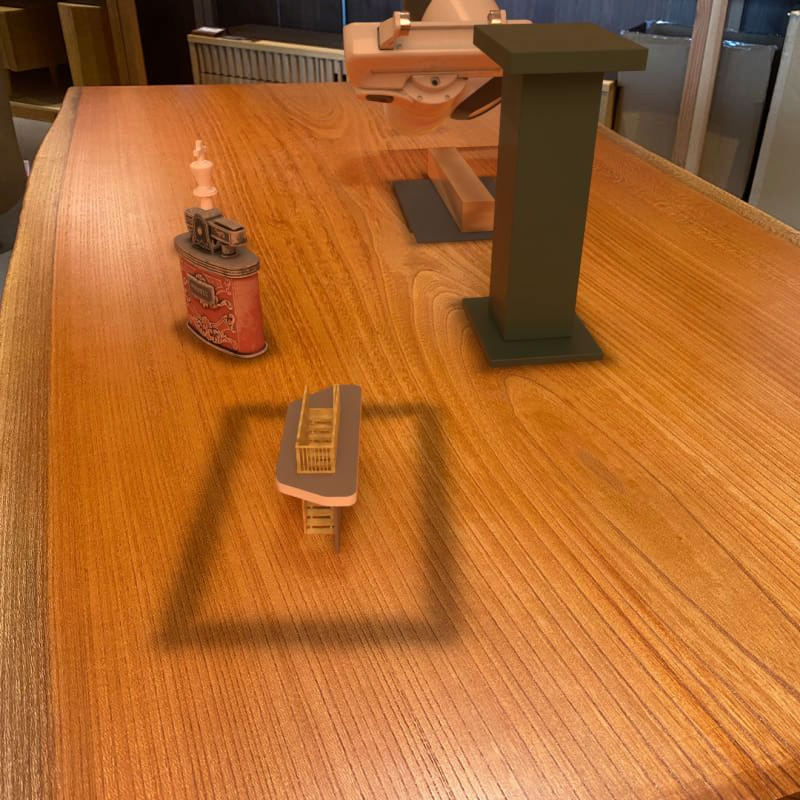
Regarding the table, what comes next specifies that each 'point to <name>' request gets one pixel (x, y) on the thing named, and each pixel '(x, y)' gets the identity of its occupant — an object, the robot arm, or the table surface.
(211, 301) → the lighter
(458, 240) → the mat
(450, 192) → the ash bar
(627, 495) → the table surface
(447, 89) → the robot arm
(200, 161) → the chess piece
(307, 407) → the platform
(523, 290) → the stand
